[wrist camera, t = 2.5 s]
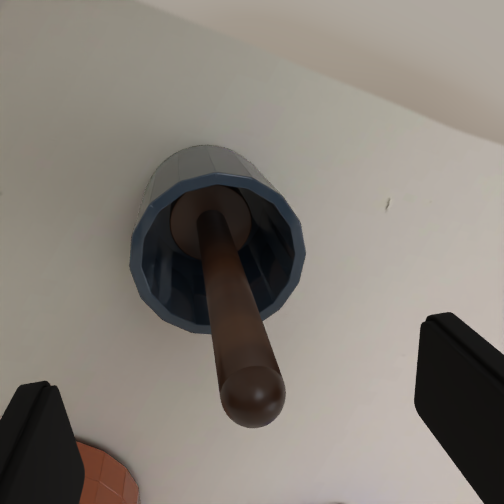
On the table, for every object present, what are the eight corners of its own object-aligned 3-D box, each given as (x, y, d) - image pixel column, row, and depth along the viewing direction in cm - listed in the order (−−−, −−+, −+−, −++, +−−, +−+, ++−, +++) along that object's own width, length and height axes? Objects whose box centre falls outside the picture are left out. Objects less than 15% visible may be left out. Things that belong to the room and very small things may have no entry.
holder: (116, 196, 24) (90, 247, 16) (220, 118, 23) (241, 135, 16) (196, 285, 26) (204, 362, 19) (290, 218, 26) (334, 271, 19)
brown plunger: (154, 203, 23) (115, 415, 9) (215, 157, 23) (286, 295, 8) (201, 258, 25) (236, 512, 10) (259, 217, 25) (382, 418, 10)
